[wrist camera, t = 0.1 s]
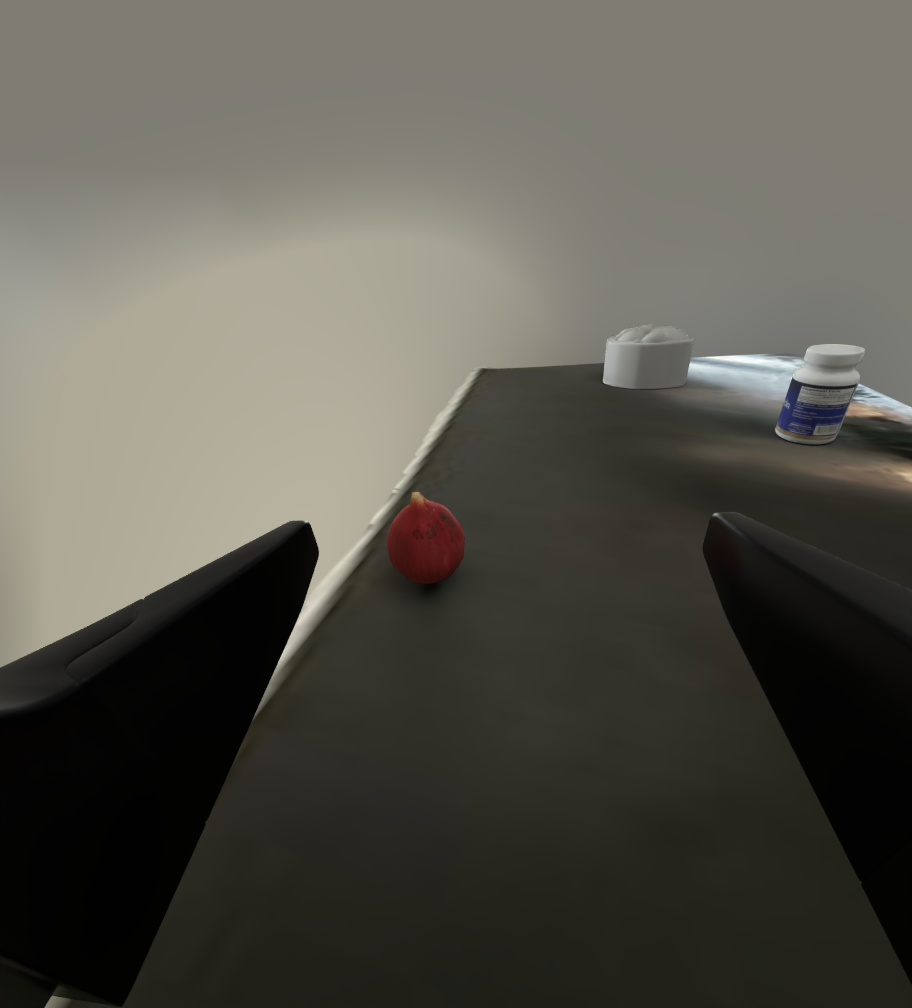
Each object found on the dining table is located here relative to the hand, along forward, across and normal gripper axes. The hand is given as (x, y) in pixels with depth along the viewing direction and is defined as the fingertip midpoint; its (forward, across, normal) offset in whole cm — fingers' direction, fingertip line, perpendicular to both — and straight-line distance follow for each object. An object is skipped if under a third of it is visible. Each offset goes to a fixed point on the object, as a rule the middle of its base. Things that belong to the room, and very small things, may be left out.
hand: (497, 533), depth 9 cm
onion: (+17, +6, +17) cm, 24 cm away
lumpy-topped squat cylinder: (+69, -24, +16) cm, 75 cm away
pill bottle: (+42, -35, +17) cm, 57 cm away
